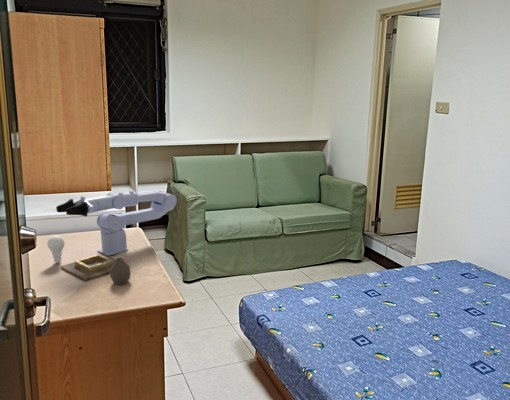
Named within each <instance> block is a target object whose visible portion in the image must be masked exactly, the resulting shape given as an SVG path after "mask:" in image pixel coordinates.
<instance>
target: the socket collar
mask: <svg viewBox="0 0 510 400" xmlns="http://www.w3.org/2000/svg"><path fill="white" fill-rule="evenodd" d="M101 254H102V253H101ZM101 254H100V253H98V254H94V255H91V256H88V257H87V256H86V257H84V258H80V259H76V260H74V262H75V266H76V267H78V268H80V269H82V270H84V271H86V272H88V273H92V272H95V271H98V270H101V269H105V268H108V267H111V266H112V265H113V264H114V260H112V259H110V258H108V257H105V256H103V255H101ZM98 260H99V261H101V262H103V263H100V264H96V265H93V266H88V265H86V264H88V263H91V262H95V261H98Z"/></svg>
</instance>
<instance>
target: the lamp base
mask: <svg viewBox="0 0 510 400" xmlns="http://www.w3.org/2000/svg"><path fill="white" fill-rule="evenodd" d="M101 255H103V256H105V257H108V258H110V259H112V260H114V262H115V260H116V259H117V258H116V259H115V258H114V257H111V256H110V255H109V256H108V255H105V254H103V253H101ZM100 263H103V262H101V261H99V260H98V261H95V262H91V263H88V264H86V265H88V266H93V265H96V264H100ZM59 267H60V269H61V270H63V271H65V272H67V273H69V274H70V275H72V276H75V277H76V278H79V279H80V280H83V281H84V282H87V281H90V280H91V281H92V280H95V279H97V278H100V277H103V276H106V275H110V270H111V267H112V266H111V267H108V268H105V269H101V270H98V271H95V272H92V273H88V272H86V271H84V270H82V269H80V268H78V267H76V266H75V261H73V262H71V263H67V264H64V265H60V266H59Z"/></svg>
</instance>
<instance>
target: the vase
mask: <svg viewBox="0 0 510 400" xmlns="http://www.w3.org/2000/svg"><path fill="white" fill-rule="evenodd" d="M109 277H110V279H111V281H112V282H113V283H114V284H115V285H118V286H119V285H125V284H127V283H128V282H129V280H130V278H131V267H130V264H128V263H127V262H126V261H125V260H124V258H123V257H117V258H116V260H115V262H114V264H113V265H112V267H111V270H110V273H109Z"/></svg>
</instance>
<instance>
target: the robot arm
mask: <svg viewBox="0 0 510 400" xmlns="http://www.w3.org/2000/svg"><path fill="white" fill-rule="evenodd" d="M177 199H178V198H177V197H176V195H174V193H172V194H171V193H168V192H164V191H159V190H158V191H149V192H145V193H137V192H135V191H134V190H129V191H128V192H121V191H120V192H118V193H113V192H109V193H107V195H101V196H95V197H89V198H86V196H82V195H81V196H80V199H79V200H77V201H74V199H73V198H70V199H68V200H67V201H66V202H64V203H62V204H58V205H56V213H66V215H69V216H83V217H88V214H92V213H97V212H102V213H100V214H99V215H98V216H97V217H96V224H97V226H98V227H99V228H100V229H99V230H100V241H101V248H100V249H98V250H97V252H98V253H101V254H104V255H107V256H109V257H110V256H112V255H115V254H119V253H122V252H126V251H128V250H129V248H128V246H127V234H126V232H125V230H124V229H125V228H126V226H129V225H133V224H138V223H144V222H148V221H153V220H158V219H160V218H162V217H163V216H164V215H165V214H167V213H168V212H170V211H172V210H174V208H175V207H176V205H177V201H178V200H177ZM144 202H151V203H150V207H148V208H145V209H138V210H133V211H127V212H124V213H107V212H103V211H108V210H111V209H116V210H122V209H123V208H126V207H135V206H137V205H138V204H139V203H144Z"/></svg>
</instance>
